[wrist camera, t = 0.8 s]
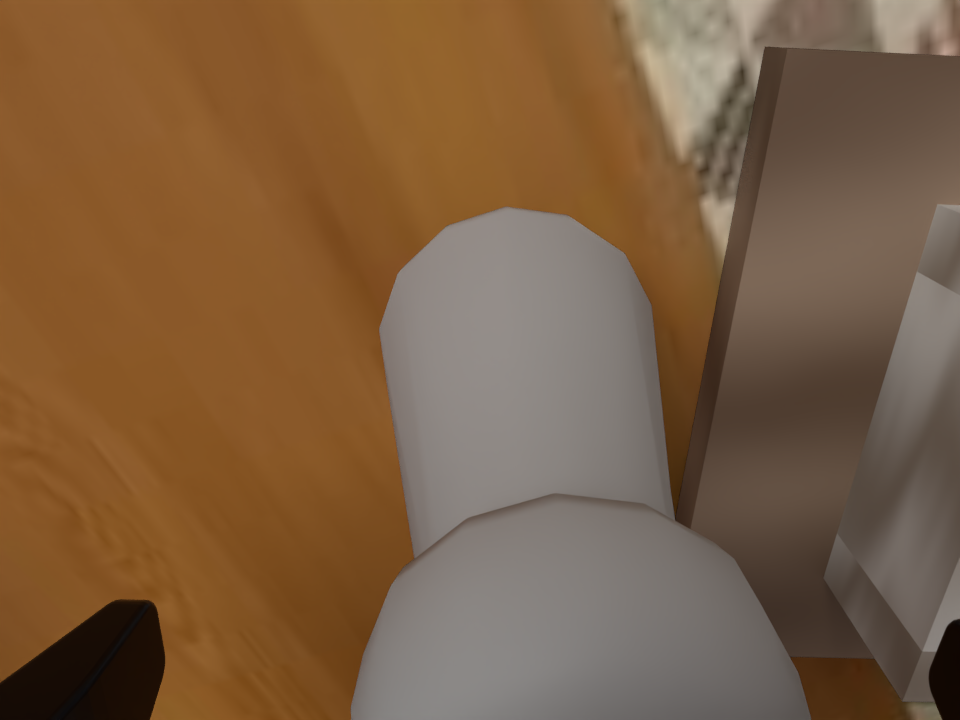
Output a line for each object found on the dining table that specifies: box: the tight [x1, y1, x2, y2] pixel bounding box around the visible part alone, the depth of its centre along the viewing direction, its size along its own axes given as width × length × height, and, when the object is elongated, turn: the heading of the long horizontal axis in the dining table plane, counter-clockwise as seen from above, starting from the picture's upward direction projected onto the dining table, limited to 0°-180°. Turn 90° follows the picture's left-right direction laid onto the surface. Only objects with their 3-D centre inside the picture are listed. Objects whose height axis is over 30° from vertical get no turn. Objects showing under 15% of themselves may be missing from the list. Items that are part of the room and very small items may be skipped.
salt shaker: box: [351, 207, 811, 720], centre depth 12 cm, size 6×6×13 cm
